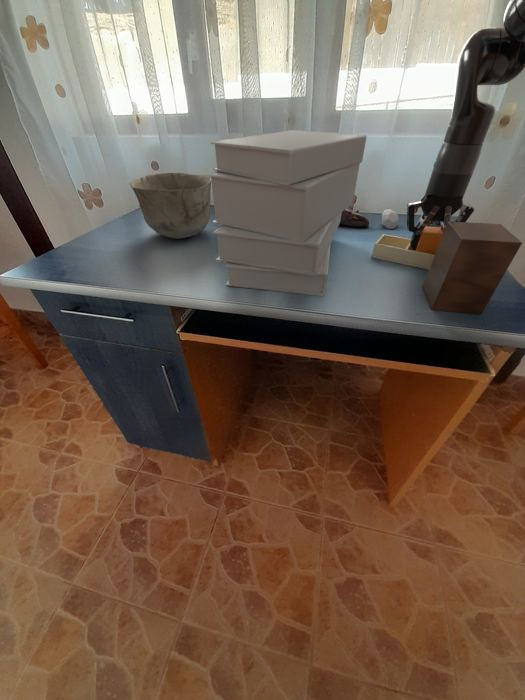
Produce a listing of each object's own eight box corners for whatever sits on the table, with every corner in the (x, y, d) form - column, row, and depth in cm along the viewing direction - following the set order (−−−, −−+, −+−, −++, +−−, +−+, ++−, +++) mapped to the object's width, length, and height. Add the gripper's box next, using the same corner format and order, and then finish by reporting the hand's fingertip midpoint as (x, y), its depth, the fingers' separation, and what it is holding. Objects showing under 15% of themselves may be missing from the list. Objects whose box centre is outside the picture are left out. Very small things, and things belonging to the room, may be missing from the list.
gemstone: (386, 211, 96) (396, 204, 91) (392, 229, 97) (404, 223, 92) (371, 217, 95) (381, 210, 90) (378, 236, 95) (388, 230, 90)
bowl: (167, 220, 100) (157, 169, 90) (228, 226, 96) (223, 173, 86) (128, 245, 85) (110, 186, 75) (198, 253, 80) (189, 192, 70)
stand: (466, 291, 63) (500, 224, 54) (481, 314, 57) (522, 242, 48) (422, 287, 65) (447, 221, 56) (431, 310, 58) (462, 239, 49)
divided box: (468, 278, 68) (475, 263, 65) (371, 257, 77) (374, 243, 74) (471, 265, 73) (478, 251, 70) (379, 247, 82) (383, 233, 79)
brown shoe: (324, 229, 100) (346, 206, 99) (351, 245, 94) (375, 221, 94) (321, 215, 94) (344, 191, 94) (350, 232, 88) (375, 206, 88)
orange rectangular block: (430, 251, 75) (439, 226, 71) (434, 258, 71) (444, 233, 67) (411, 250, 75) (419, 225, 72) (414, 257, 72) (423, 232, 68)
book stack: (345, 238, 87) (364, 129, 70) (345, 301, 61) (375, 153, 44) (245, 231, 91) (241, 128, 74) (206, 287, 66) (185, 149, 49)
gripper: (420, 171, 60) (395, 253, 71) (498, 173, 57) (460, 258, 69) (413, 164, 65) (392, 241, 77) (484, 166, 63) (451, 245, 74)
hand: (424, 249), depth 73 cm, fingers closed on orange rectangular block, 4 cm apart
